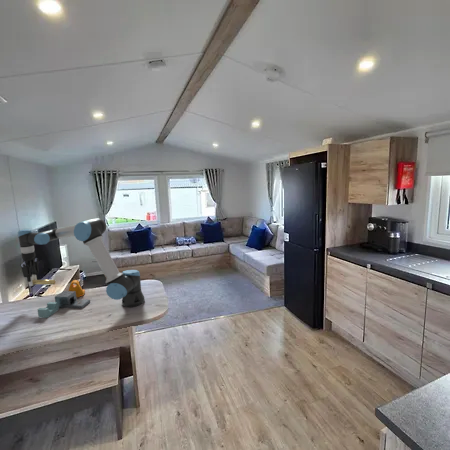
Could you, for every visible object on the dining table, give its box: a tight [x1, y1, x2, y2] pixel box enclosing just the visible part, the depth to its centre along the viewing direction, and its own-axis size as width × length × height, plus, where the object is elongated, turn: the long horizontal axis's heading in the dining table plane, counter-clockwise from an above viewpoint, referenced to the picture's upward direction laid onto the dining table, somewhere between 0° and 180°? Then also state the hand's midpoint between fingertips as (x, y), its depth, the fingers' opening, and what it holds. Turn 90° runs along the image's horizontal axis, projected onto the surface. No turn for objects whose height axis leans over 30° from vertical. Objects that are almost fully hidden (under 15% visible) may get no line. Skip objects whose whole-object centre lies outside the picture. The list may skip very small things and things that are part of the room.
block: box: [54, 290, 91, 309], centre depth 187 cm, size 19×9×8 cm, turn 84°
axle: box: [27, 279, 56, 285], centre depth 186 cm, size 18×3×3 cm, turn 84°
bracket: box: [67, 279, 86, 298], centre depth 201 cm, size 11×7×12 cm, turn 108°
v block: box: [37, 301, 59, 319], centre depth 175 cm, size 6×10×6 cm, turn 174°
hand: (33, 284), depth 187 cm, fingers closed on axle, 3 cm apart
